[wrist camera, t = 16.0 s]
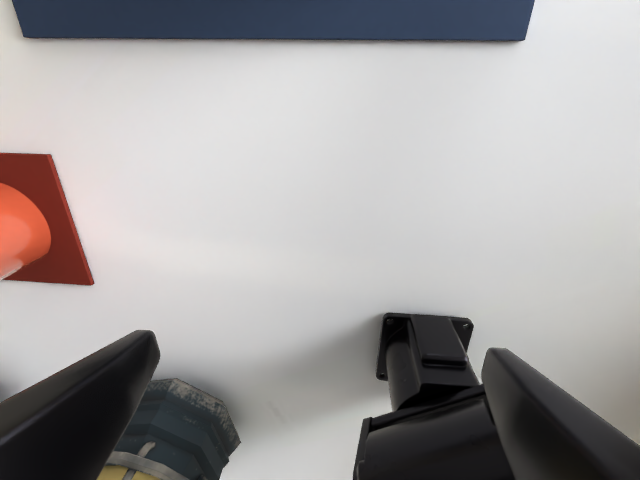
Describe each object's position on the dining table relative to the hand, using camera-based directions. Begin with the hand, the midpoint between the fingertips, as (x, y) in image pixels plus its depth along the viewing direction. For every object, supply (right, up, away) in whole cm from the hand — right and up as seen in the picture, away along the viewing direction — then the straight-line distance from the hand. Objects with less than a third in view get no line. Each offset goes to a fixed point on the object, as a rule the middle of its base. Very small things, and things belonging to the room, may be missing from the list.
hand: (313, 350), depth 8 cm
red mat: (-23, +4, +14) cm, 27 cm away
